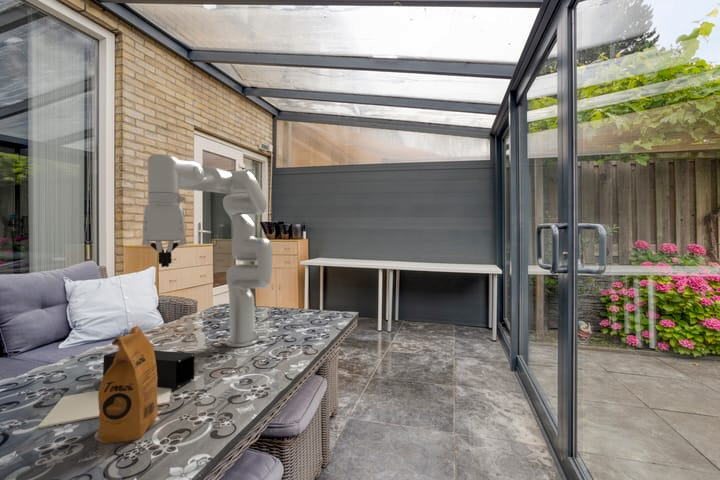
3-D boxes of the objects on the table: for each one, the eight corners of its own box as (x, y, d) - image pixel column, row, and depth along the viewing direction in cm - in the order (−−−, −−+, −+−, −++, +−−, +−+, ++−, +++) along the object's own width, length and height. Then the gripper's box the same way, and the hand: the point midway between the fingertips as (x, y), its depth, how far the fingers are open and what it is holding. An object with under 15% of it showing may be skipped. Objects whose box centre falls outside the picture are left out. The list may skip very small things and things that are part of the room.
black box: (176, 361, 95) (94, 354, 101) (175, 389, 95) (93, 381, 101) (195, 353, 103) (118, 347, 109) (194, 379, 103) (117, 372, 108)
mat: (173, 379, 103) (173, 378, 103) (168, 403, 88) (168, 401, 88) (63, 398, 91) (63, 396, 91) (37, 428, 77) (37, 426, 77)
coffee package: (88, 448, 70) (86, 342, 70) (120, 416, 82) (118, 325, 82) (141, 442, 72) (139, 339, 71) (164, 412, 84) (163, 323, 84)
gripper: (194, 202, 101) (195, 264, 101) (134, 200, 94) (135, 266, 95) (193, 200, 94) (195, 266, 94) (129, 198, 88) (130, 269, 88)
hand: (165, 266), depth 94 cm, fingers closed
